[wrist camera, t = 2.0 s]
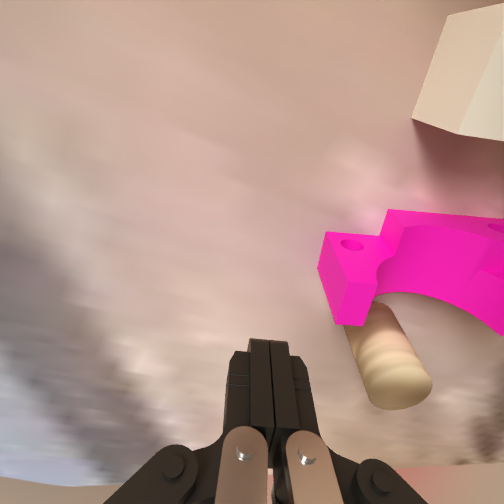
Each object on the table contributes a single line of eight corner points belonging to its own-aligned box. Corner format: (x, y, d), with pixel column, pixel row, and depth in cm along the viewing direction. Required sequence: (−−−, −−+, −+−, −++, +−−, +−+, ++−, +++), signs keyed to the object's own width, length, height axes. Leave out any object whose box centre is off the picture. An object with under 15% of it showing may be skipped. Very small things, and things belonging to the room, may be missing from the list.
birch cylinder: (351, 299, 31) (380, 366, 25) (401, 304, 32) (443, 372, 25) (337, 337, 34) (360, 407, 27) (383, 341, 34) (417, 411, 27)
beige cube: (447, 15, 20) (515, 0, 15) (536, 31, 21) (632, 21, 15) (410, 117, 23) (457, 134, 18) (489, 129, 24) (556, 148, 18)
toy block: (506, 218, 27) (586, 267, 21) (473, 279, 31) (534, 337, 24) (331, 203, 27) (358, 249, 20) (316, 266, 30) (335, 324, 23)
